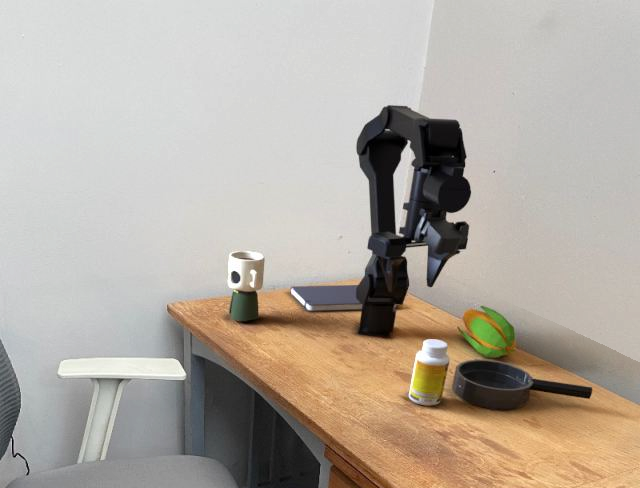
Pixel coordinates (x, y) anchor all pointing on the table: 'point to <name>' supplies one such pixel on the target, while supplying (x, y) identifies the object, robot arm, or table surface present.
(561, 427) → the table surface
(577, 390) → the skillet handle
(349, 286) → the notebook
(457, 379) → the skillet
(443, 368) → the supplement bottle
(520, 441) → the table surface
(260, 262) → the character mug
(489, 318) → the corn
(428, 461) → the table surface
